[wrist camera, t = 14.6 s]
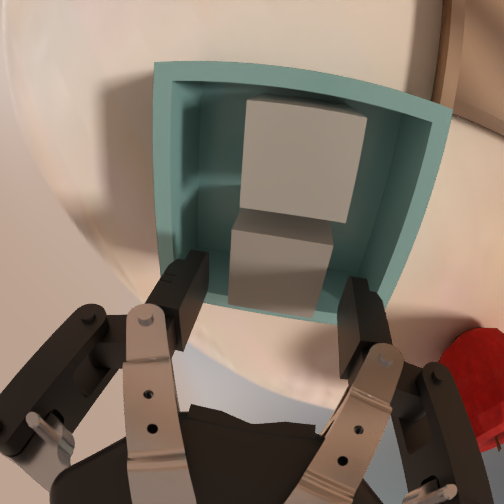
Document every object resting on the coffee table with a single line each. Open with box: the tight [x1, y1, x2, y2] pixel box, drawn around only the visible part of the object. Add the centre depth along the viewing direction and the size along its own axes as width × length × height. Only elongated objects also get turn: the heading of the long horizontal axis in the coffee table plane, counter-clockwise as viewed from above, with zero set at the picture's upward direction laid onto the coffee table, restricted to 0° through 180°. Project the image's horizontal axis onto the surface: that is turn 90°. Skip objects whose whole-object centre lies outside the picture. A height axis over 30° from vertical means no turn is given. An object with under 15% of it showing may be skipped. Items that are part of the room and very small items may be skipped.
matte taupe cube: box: [240, 92, 367, 223], centre depth 12 cm, size 4×4×5 cm
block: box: [228, 208, 333, 318], centre depth 15 cm, size 4×4×5 cm
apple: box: [438, 328, 504, 452], centre depth 16 cm, size 10×10×11 cm
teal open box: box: [153, 61, 453, 325], centre depth 14 cm, size 12×12×4 cm
